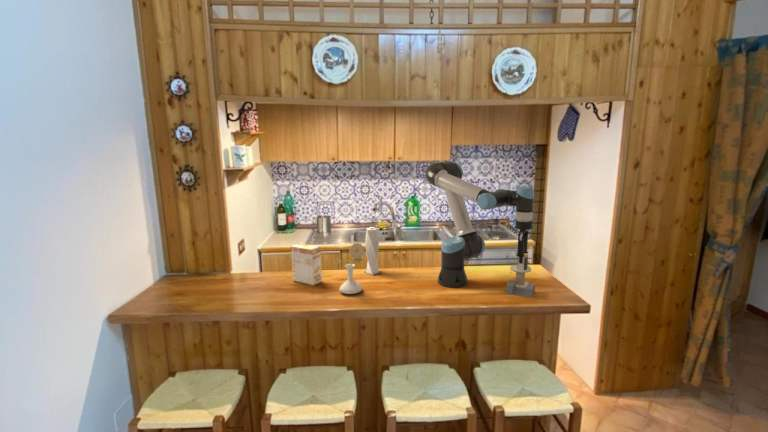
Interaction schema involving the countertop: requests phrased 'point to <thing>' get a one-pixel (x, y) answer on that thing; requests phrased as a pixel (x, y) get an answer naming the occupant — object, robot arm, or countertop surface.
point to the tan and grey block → (524, 261)
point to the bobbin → (520, 276)
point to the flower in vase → (350, 284)
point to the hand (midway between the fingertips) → (521, 267)
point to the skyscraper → (372, 250)
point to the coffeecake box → (306, 263)
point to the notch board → (520, 292)
